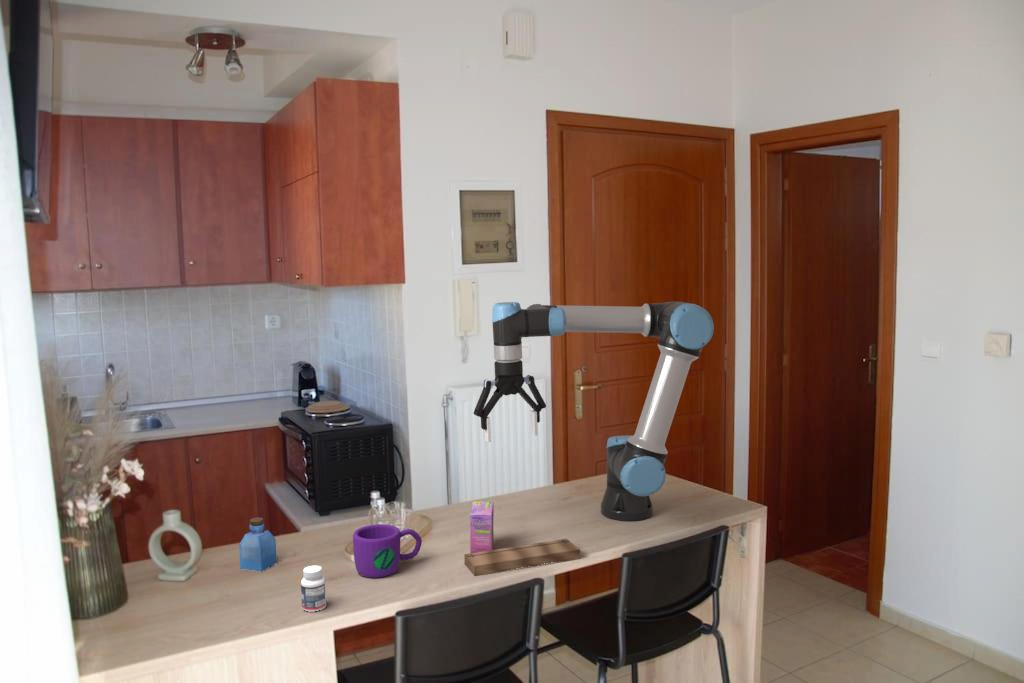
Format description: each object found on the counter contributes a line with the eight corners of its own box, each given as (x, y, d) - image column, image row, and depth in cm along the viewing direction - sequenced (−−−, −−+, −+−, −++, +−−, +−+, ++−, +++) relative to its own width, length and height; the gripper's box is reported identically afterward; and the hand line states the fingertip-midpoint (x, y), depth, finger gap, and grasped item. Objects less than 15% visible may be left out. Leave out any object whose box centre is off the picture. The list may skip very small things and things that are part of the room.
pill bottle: (304, 602, 178) (302, 564, 177) (327, 601, 178) (326, 563, 177) (300, 613, 173) (298, 574, 172) (324, 612, 173) (322, 573, 172)
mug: (362, 584, 187) (361, 543, 186) (348, 567, 197) (346, 528, 196) (431, 569, 196) (430, 529, 195) (413, 554, 206) (412, 516, 204)
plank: (566, 547, 209) (566, 538, 208) (580, 558, 201) (580, 548, 201) (464, 563, 199) (464, 553, 198) (474, 576, 191) (474, 565, 191)
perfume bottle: (276, 562, 201) (274, 516, 199) (261, 572, 195) (259, 525, 194) (256, 560, 203) (253, 514, 201) (240, 569, 197) (237, 522, 196)
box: (492, 559, 201) (491, 514, 200) (469, 559, 202) (469, 514, 200) (494, 544, 212) (493, 501, 210) (472, 544, 212) (472, 501, 210)
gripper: (544, 354, 221) (547, 429, 224) (459, 362, 212) (463, 440, 214) (556, 357, 214) (558, 434, 217) (469, 366, 205) (472, 446, 207)
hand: (511, 437), depth 216 cm, fingers open, 13 cm apart
